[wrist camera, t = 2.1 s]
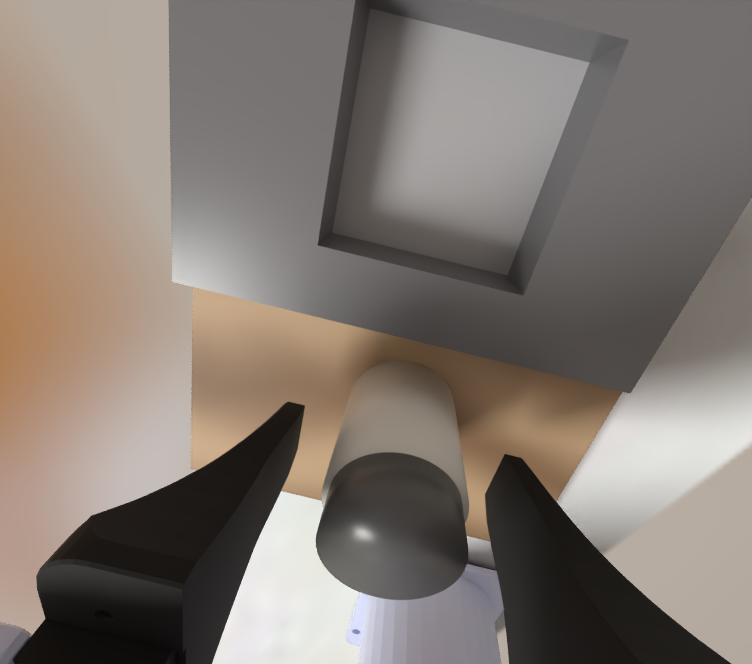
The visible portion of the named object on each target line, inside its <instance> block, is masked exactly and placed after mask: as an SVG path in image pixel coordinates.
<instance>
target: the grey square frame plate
mask: <svg viewBox="0 0 752 664" xmlns="http://www.w3.org/2000/svg"><path fill="white" fill-rule="evenodd" d="M169 57H170V58H169V67H170V142H171V143H170V147H171V226H172V227H171V229H172V282H175V283H180V284H183V285H188V286H192V287H196V288H200V289H204V290H208V291H212V292H216V293H220V294H224V295H229V296H233V297H237V298H241V299H245V300H249V301H253V302H257V303H261V304H265V305H270V306H274V307H278V308H282V309H286V310H290V311H294V312H298V313H302V314H306V315H311V316H315V317H319V318H323V319H327V320H331V321H335V322H339V323H343V324H347V325H352V326H356V327H360V328H364V329H368V330H372V331H376V332H380V333H384V334H389V335H393V336H397V337H401V338H405V339H409V340H413V341H417V342H421V343H425V344H430V345H434V346H438V347H442V348H446V349H450V350H454V351H458V352H462V353H466V354H471V355H475V356H479V357H483V358H487V359H491V360H495V361H499V362H503V363H507V364H512V365H516V366H520V367H524V368H528V369H532V370H536V371H540V372H544V373H548V374H553V375H557V376H561V377H565V378H569V379H573V380H577V381H581V382H585V383H589V384H594V385H598V386H602V387H606V388H610V389H614V390H618V391H622V392H626V393H631V391H632V390H633V388H634V387H635V385H636V383H637V382H638V380H639V378H640V377H641V375H642V374H643V372H644V370H645V369H646V367H647V365H648V364H649V362H650V361H651V359H652V357H653V356H654V354H655V352H656V351H657V349H658V348H659V346H660V344H661V343H662V341H663V340H664V338H665V336H666V335H667V333H668V331H669V330H670V328H671V327H672V325H673V323H674V322H675V320H676V318H677V317H678V315H679V314H680V312H681V310H682V309H683V307H684V305H685V304H686V302H687V301H688V299H689V297H690V296H691V294H692V292H693V291H694V289H695V288H696V286H697V284H698V283H699V281H700V280H701V278H702V276H703V275H704V273H705V271H706V270H707V268H708V267H709V265H710V263H711V262H712V260H713V258H714V257H715V255H716V254H717V252H718V250H719V249H720V247H721V245H722V244H723V242H724V241H725V239H726V237H727V236H728V234H729V233H730V231H731V229H732V228H733V226H734V224H735V223H736V221H737V220H738V218H739V216H740V215H741V213H742V211H743V210H744V208H745V207H746V205H747V203H748V202H749V200H750V198H751V197H752V0H169Z"/></svg>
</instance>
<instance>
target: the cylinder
mask: <svg viewBox="0 0 752 664" xmlns="http://www.w3.org/2000/svg"><path fill="white" fill-rule="evenodd" d="M322 503H323V508H324V509H323V512H322V516H321V520H320V523H319V527H318V531H317V535H316V548H317V552H318V555H319V557H320V560H321V561H322V563H323V564H324V566H325V567H326V569H327V570H328V571H329V572H330V573H331V574H332V575H333V576H334V577H335V578H336V579H338V580H339V581H340V582H342V583H343V584H345V585H347V586H348V587H350V588H352V589H354V590H356V591H358V592H361V593H364V594H366V595H370V596H373V597H378V598H382V599H390V600H413V599H420V598H425V597H429V596H432V595H435V594H437V593H439V592H442V591H444V590H445V589H447V588H449V587H450V586H451V585H453V584H454V583H455V582H456V581H457V580H458V579H459V578H460V577H461V575H462V574H463V572H464V571H465V568H466V566H467V562H468V544H467V536H466V528H465V523H466V520H467V518H468V513H469V497H468V491H467V484H466V477H465V471H464V464H463V457H462V451H461V444H460V437H459V430H458V424H457V417H456V410H455V404H454V398H453V395H452V392H451V390H450V388H449V386H448V384H447V383H446V382H445V380H444V379H443V378H442V377H441V376H440V375H439V374H437V373H436V372H435V371H433V370H432V369H430V368H428V367H426V366H424V365H421V364H418V363H415V362H410V361H389V362H385V363H381V364H378V365H376V366H374V367H372V368H370V369H368V370H367V371H366V372H364V373H363V374H362V375H361V376H360V377H359V378H358V379H357V381H356V382H355V384H354V386H353V388H352V390H351V393H350V396H349V400H348V403H347V406H346V410H345V413H344V417H343V420H342V423H341V427H340V430H339V433H338V437H337V440H336V443H335V447H334V450H333V454H332V457H331V460H330V464H329V467H328V470H327V474H326V477H325V480H324V484H323V487H322Z"/></svg>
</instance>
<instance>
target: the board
mask: <svg viewBox="0 0 752 664" xmlns="http://www.w3.org/2000/svg"><path fill="white" fill-rule="evenodd" d="M389 361H410V362H415V363H418V364H421V365H424V366H426V367H428V368H430V369H432V370H433V371H435V372H436V373H437V374H439V375H440V376H441V377H442V378H443V379H444V380H445V382H446V383H447V384H448V386H449V388H450V390H451V392H452V395H453V398H454V404H455V410H456V417H457V424H458V430H459V437H460V444H461V451H462V457H463V464H464V471H465V477H466V484H467V491H468V497H469V513H468V518H467V520H466V523H465V528H466V536H470V537H474V538H478V539H482V540H487V541H490V537H489V532H488V526H487V518H486V505H485V493H486V491H487V489H488V487H489V485H490V483H491V481H492V479H493V477H494V475H495V473H496V471H497V469H498V467H499V464H500V462H501V460H502V458H503V456H504V454H508V455H512V456H516V457H520V458H522V459H523V460H524V461H525V462H526V464H527V465H528V466H529V467H530V469H531V470H532V471H533V473H534V474H535V475H536V477H537V478H538V479H539V480H540V482H541V483H542V484H543V486H544V487H545V488H546V490H547V491H548V492H549V493H550V495H551V496H552V497H553V499H554V500H555V501H557V499H558V497H559V496H560V494H561V492H562V491H563V489H564V487H565V486H566V484H567V482H568V481H569V479H570V477H571V476H572V474H573V473H574V471H575V469H576V468H577V466H578V464H579V463H580V461H581V459H582V458H583V456H584V454H585V453H586V451H587V449H588V448H589V446H590V444H591V443H592V441H593V439H594V438H595V436H596V434H597V433H598V431H599V430H600V428H601V426H602V425H603V423H604V421H605V420H606V418H607V416H608V415H609V413H610V411H611V410H612V408H613V406H614V405H615V403H616V401H617V400H618V398H619V396H620V395H621V393H622V391H618V390H614V389H610V388H606V387H602V386H598V385H594V384H589V383H585V382H581V381H577V380H573V379H569V378H565V377H561V376H557V375H553V374H548V373H544V372H540V371H536V370H532V369H528V368H524V367H520V366H516V365H512V364H507V363H503V362H499V361H495V360H491V359H487V358H483V357H479V356H475V355H471V354H466V353H462V352H458V351H454V350H450V349H446V348H442V347H438V346H434V345H430V344H425V343H421V342H417V341H413V340H409V339H405V338H401V337H397V336H393V335H389V334H384V333H380V332H376V331H372V330H368V329H364V328H360V327H356V326H352V325H347V324H343V323H339V322H335V321H331V320H327V319H323V318H319V317H315V316H311V315H306V314H302V313H298V312H294V311H290V310H286V309H282V308H278V307H274V306H270V305H265V304H261V303H257V302H253V301H249V300H245V299H241V298H237V297H233V296H229V295H224V294H220V293H216V292H212V291H208V290H204V289H200V288H196V287H193V326H192V406H191V469H193V470H198V469H200V468H202V467H204V466H205V465H207V464H209V463H210V462H212V461H213V460H215V459H217V458H218V457H220V456H221V455H223V454H224V453H226V452H227V451H229V450H230V449H231V448H233V447H234V446H235V445H237V444H238V443H239V442H241V441H242V440H244V439H245V438H246V437H247V436H249V435H250V434H251V433H252V432H254V431H255V430H256V429H257V428H258V427H260V426H261V425H262V424H263V423H264V422H266V421H267V420H268V419H269V418H270V417H271V416H272V415H273V414H274V413H275V412H277V411H278V410H279V409H280V408H281V407H282V406H283V405H284V404H285V403H286V402H293V403H297V404H301V405H305V409H304V415H303V421H302V427H301V433H300V439H299V444H298V450H297V453H296V456H295V458H294V461H293V464H292V467H291V470H290V472H289V475H288V477H287V480H286V482H285V484H284V486H283V488H282V490H281V491H284V492H288V493H292V494H296V495H300V496H305V497H309V498H313V499H317V500H321V501H322V487H323V484H324V480H325V477H326V474H327V470H328V467H329V464H330V460H331V457H332V454H333V450H334V447H335V443H336V440H337V437H338V433H339V430H340V427H341V423H342V420H343V417H344V413H345V410H346V406H347V403H348V400H349V396H350V393H351V390H352V388H353V386H354V384H355V382H356V381H357V379H358V378H359V377H360V376H361V375H362V374H363V373H364V372H366V371H367V370H368V369H370V368H372V367H374V366H376V365H378V364H381V363H385V362H389Z"/></svg>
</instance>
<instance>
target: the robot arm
mask: <svg viewBox="0 0 752 664" xmlns="http://www.w3.org/2000/svg"><path fill="white" fill-rule="evenodd" d="M304 409H305V405H301V404H297V403H293V402H286V403H285V404H284V405H283V406H282V407H281V408H280V409H279V410H278V411H277V412H275V413H274V414H273V415H272V416H271V417H270V418H269V419H268V420H267V421H266V422H264V423H263V424H262V425H261V426H260V427H258V428H257V429H256V430H255V431H254V432H252V433H251V434H250V435H249V436H247V437H246V438H245V439H244V440H242V441H241V442H239V443H238V444H237V445H235V446H234V447H233V448H231V449H230V450H229V451H227V452H226V453H224V454H223V455H221V456H220V457H218V458H217V459H215V460H213V461H212V462H210V463H209V464H207V465H205V466H204V467H202V468H200V469H198V470H197V471H195V472H193V473H191V474H189V475H188V476H186V477H184V478H182V479H180V480H178V481H176V482H174V483H172V484H170V485H168V486H166V487H164V488H161V489H159V490H157V491H155V492H153V493H150V494H149V495H146V496H144V497H142V498H139V499H137V500H134V501H132V502H129V503H126V504H123V505H121V506H118V507H115V508H112V509H109V510H107V511H104V512H101V513H98V514H95V515H92V516H91V517H90V518H89V519H88V520H87V521H86V522H85V523H83V524H82V525H81V526H80V527H79V528H78V529H77V530H76V531H75V532H74V533H73V534H72V535H71V536H70V537H69V538H68V539H67V540H66V541H65V542H64V543H63V544H62V545H61V546H60V547H59V548H58V550H57V551H56V552H55V553H54V554H53V555H52V556H51V557H50V558H49V559H48V561H47V562H46V563H45V564H44V565H43V566H42V567H41V568H40V570H39V572H38V574H37V590H38V594H39V597H40V600H41V604H42V608H43V611H44V615H45V618H46V619H45V620H44V621H43V623H42V624H41V625H40V627H39V628H38V629H37V630H36V631H35V633H34V634H33V635H32V636H31V634H30V633H29V632H28V631H26V630H25V629H23V628H20V627H17V626H14V625H10V624H6V623H1V622H0V664H212V662H213V659H214V656H215V653H216V650H217V647H218V645H219V642H220V639H221V636H222V633H223V631H224V628H225V625H226V622H227V619H228V617H229V614H230V611H231V608H232V606H233V603H234V600H235V598H236V595H237V592H238V589H239V587H240V584H241V581H242V579H243V576H244V573H245V571H246V568H247V565H248V563H249V560H250V557H251V555H252V552H253V550H254V547H255V545H256V542H257V540H258V538H259V536H260V533H261V531H262V529H263V527H264V525H265V523H266V521H267V519H268V517H269V515H270V513H271V511H272V509H273V507H274V504H275V502H276V500H277V498H278V496H279V494H280V492H281V490H282V488H283V486H284V484H285V482H286V480H287V477H288V475H289V472H290V470H291V467H292V464H293V461H294V458H295V456H296V453H297V450H298V444H299V439H300V433H301V427H302V421H303V415H304ZM485 505H486V518H487V526H488V532H489V537H490V542H491V547H492V551H493V556H494V561H495V566H496V570H497V571H495V570H491V569H487V568H482V567H478V566H474V565H470V564H467V566H466V568H465V571H464V572H463V574H462V575H461V577H460V578H459V579H458V580H457V581H456V582H455V583H454V584H453V585H451V586H450V587H449V588H447V589H445V590H444V591H442V592H439V593H437V594H435V595H432V596H429V597H425V598H420V599H413V600H390V599H382V598H378V597H373V596H370V595H366V594H364V593H361V592H360V593H359V596H358V599H357V602H356V605H355V608H354V611H353V614H352V617H351V620H350V623H349V626H348V629H347V632H346V641H347V642H348V643H350V644H353V645H357V646H360V654H359V662H358V664H501V658H500V652H499V646H498V641H497V634H496V629H495V623H496V621H497V619H498V618H499V616H500V615H501V613H502V611H503V610H504V616H505V625H506V634H507V643H508V654H509V664H731V663H729V662H728V661H727V660H725V659H724V658H723V657H721V656H720V655H719V654H717V653H716V652H715V651H713V650H712V649H711V648H709V647H708V646H707V645H705V644H704V643H702V642H701V641H700V640H698V639H697V638H696V637H694V636H693V635H692V634H691V633H689V632H688V631H687V630H686V629H684V628H683V627H682V626H681V625H679V624H678V623H677V622H676V621H674V620H673V619H672V618H671V617H670V616H668V615H667V614H666V613H665V612H663V611H662V610H661V609H660V608H659V607H657V606H656V605H655V604H654V603H653V602H652V601H651V600H649V599H648V598H647V597H646V596H645V595H644V594H643V593H642V592H641V591H639V590H638V589H637V588H636V587H635V586H634V585H633V584H632V583H631V582H630V581H628V580H627V579H626V578H625V577H624V576H623V575H622V574H621V573H620V572H619V571H618V570H617V569H616V568H615V567H614V566H613V565H612V564H611V563H610V562H609V561H608V560H607V559H606V558H605V557H604V556H603V555H602V554H601V553H600V552H599V551H598V550H597V549H596V548H595V547H594V546H593V544H592V543H591V542H590V541H589V540H588V539H587V538H586V537H585V536H584V534H583V533H582V532H581V531H580V530H579V529H578V528H577V526H576V525H575V524H574V523H573V522H572V521H571V519H570V518H569V517H568V516H567V515H566V513H565V512H564V511H563V510H562V509H561V507H560V506H559V505H558V504H557V502H556V501H555V500H554V499H553V497H552V496H551V495H550V493H549V492H548V491H547V490H546V488H545V487H544V486H543V484H542V483H541V482H540V480H539V479H538V478H537V477H536V475H535V474H534V473H533V471H532V470H531V469H530V467H529V466H528V465H527V464H526V462H525V461H524V460H523V459H522V458H520V457H516V456H512V455H508V454H504V456H503V458H502V460H501V462H500V464H499V467H498V469H497V471H496V473H495V475H494V477H493V479H492V481H491V483H490V485H489V487H488V489H487V491H486V493H485Z"/></svg>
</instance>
